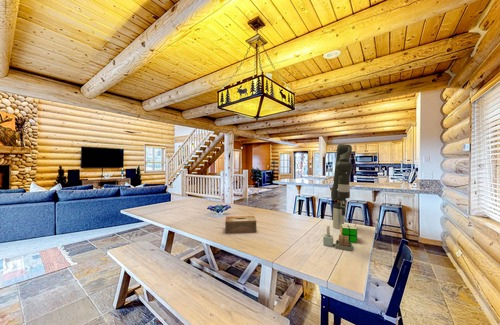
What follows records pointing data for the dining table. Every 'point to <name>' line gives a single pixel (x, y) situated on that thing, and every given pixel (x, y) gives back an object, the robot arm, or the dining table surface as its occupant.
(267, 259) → the dining table surface
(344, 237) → the brown cardboard cube
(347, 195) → the robot arm
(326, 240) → the slate block
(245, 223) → the tissue box cover
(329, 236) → the cylinder
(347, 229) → the puzzle cube
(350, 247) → the tray
